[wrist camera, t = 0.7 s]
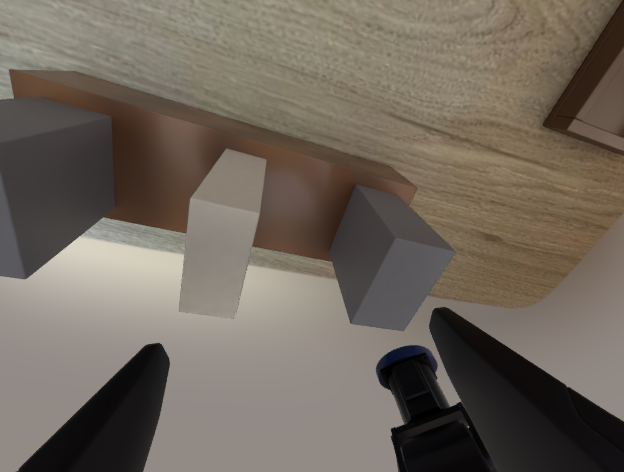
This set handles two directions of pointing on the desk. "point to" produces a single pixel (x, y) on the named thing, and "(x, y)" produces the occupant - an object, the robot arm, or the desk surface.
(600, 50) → the long brown tray
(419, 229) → the grey books
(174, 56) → the desk surface
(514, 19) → the desk surface
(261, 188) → the white book
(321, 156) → the shelf riser
